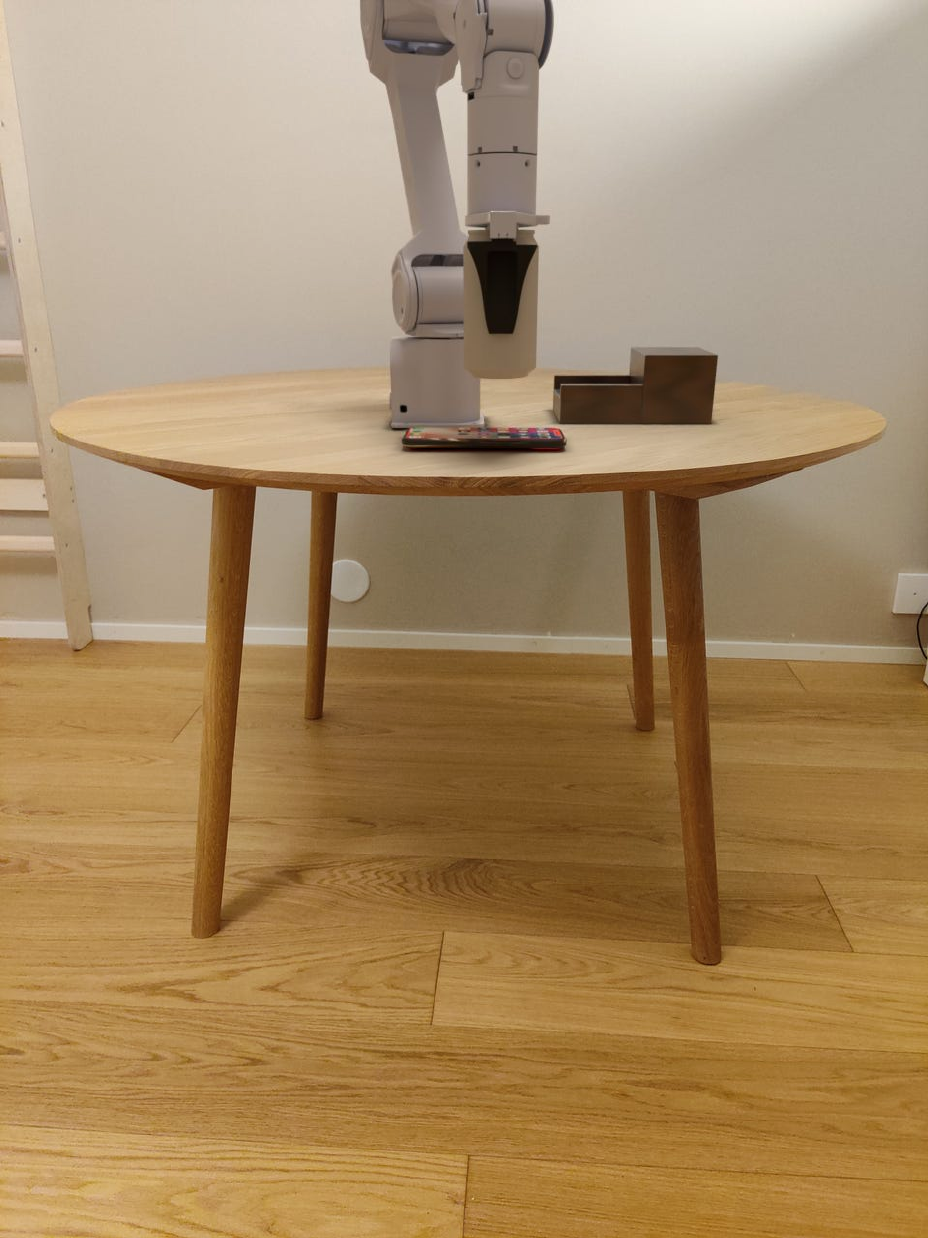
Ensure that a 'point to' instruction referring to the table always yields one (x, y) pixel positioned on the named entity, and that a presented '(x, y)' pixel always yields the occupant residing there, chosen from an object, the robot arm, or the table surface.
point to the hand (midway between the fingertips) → (500, 330)
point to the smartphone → (483, 437)
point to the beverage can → (500, 351)
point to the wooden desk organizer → (642, 390)
